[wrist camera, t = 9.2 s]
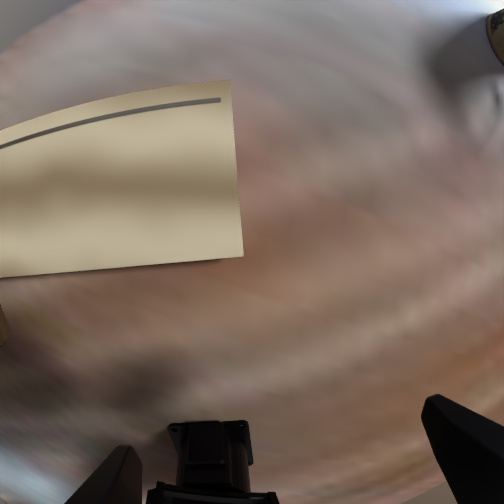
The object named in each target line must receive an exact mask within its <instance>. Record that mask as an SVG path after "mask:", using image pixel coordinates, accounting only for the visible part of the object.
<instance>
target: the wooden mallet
mask: <svg viewBox="0 0 504 504" xmlns="http://www.w3.org/2000/svg"><path fill="white" fill-rule="evenodd" d="M10 336H11V332H10V330H9V327H8V325H7V322H6V319H5V316H4V314H3V311H2V308H1V305H0V347H1V346H2V344H3V343H4V342H5V341H6V340H7V339H8V338H9V337H10Z"/></svg>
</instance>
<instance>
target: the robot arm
mask: <svg viewBox="0 0 504 504" xmlns="http://www.w3.org/2000/svg"><path fill="white" fill-rule="evenodd" d="M421 420H422V423H423V426H424V428H425V431H426V434H427V436H428V439H429V442H430V444H431V447H432V450H433V453H434V455H435V458H436V460H437V462H438V464H439V466H440V468H441V470H442V472H443V474H444V476H445V478H446V480H447V482H448V484H449V486H450V488H451V490H452V492H453V495H454V497H455V499H456V501H457V503H458V504H504V426H502V425H500V424H498V423H496V422H494V421H492V420H490V419H488V418H486V417H484V416H482V415H480V414H478V413H476V412H474V411H472V410H470V409H468V408H466V407H464V406H462V405H460V404H458V403H456V402H454V401H452V400H450V399H448V398H446V397H444V396H442V395H440V394H435V395H432V396H429V397H427V398H426V400H425V403H424V407H423V410H422V413H421ZM240 425H244V426H240ZM173 428H176V429H173ZM169 432H170V435H171V438H172V440H173V443H174V445H175V448H176V450H177V453H178V455H179V457H178V466H177V476H176V485H171V484H165V483H164V482H159V481H157V485H156V488H154V489H152V490H148V492H147V499H146V504H279V501H278V498H277V496H276V493H275V492H267V493H252V492H251V490H250V479H249V469H248V466H250V465H252V464H253V455H252V448H251V440H250V432H249V424H248V422H247V421H245V420H237V421H224V422H205V423H172V424H170V425H169ZM64 504H142V463H141V460H140V458H139V457H138V455H137V453H136V452H135V450H134V449H133V447H132V446H130V445H119V446H117V447H116V448H115V449H114V450H113V452H112V453H111V454H110V455H109V456H108V457H107V458H106V459H105V460H104V461H103V463H102V464H101V465H100V466H99V467H98V468H97V469H96V470H95V471H94V472H93V473H92V474H91V476H90V477H89V478H88V479H87V480H86V481H85V482H84V483H83V484H82V485H81V486H80V487H79V488H78V490H77V491H76V492H75V493H74V494H73V495H72V496H71V497H70V498H69V499H68V500H67V501H66V502H65V503H64Z"/></svg>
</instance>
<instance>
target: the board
mask: <svg viewBox="0 0 504 504" xmlns="http://www.w3.org/2000/svg"><path fill="white" fill-rule="evenodd" d="M241 256H244V255H243V243H242V230H241V218H240V206H239V193H238V181H237V168H236V155H235V142H234V129H233V115H232V102H231V88H230V80H223V81H211V82H202V83H193V84H185V85H177V86H170V87H163V88H157V89H151V90H145V91H140V92H134V93H129V94H124V95H119V96H115V97H110V98H106V99H101V100H97V101H93V102H89V103H85V104H81V105H77V106H74V107H70V108H67V109H63V110H60V111H56V112H53V113H50V114H47V115H43V116H40V117H37V118H34V119H31V120H28V121H25V122H23V123H20V124H17V125H14V126H12V127H9V128H6V129H4V130H1V131H0V278H2V277H14V276H26V275H37V274H49V273H61V272H72V271H84V270H95V269H107V268H118V267H130V266H141V265H152V264H164V263H175V262H186V261H197V260H208V259H219V258H230V257H241Z"/></svg>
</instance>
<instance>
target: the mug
mask: <svg viewBox="0 0 504 504" xmlns="http://www.w3.org/2000/svg"><path fill="white" fill-rule="evenodd" d="M486 31H487V36H488V39H489V42H490V44H491V47H492V49H493V51H494V53H495V54H496V56H497V58H498V59H499V60H500V62H501V63H502V64H503V65H504V9H502V10H500V11H498V12H496V13H493V14H490V15H489V16H488V18H487V20H486Z"/></svg>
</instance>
